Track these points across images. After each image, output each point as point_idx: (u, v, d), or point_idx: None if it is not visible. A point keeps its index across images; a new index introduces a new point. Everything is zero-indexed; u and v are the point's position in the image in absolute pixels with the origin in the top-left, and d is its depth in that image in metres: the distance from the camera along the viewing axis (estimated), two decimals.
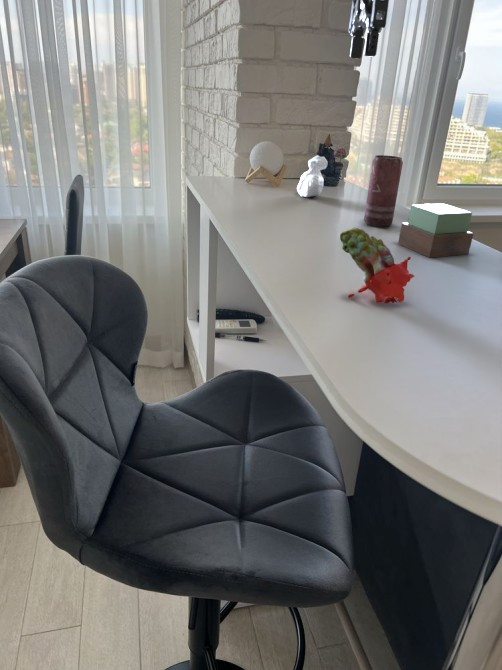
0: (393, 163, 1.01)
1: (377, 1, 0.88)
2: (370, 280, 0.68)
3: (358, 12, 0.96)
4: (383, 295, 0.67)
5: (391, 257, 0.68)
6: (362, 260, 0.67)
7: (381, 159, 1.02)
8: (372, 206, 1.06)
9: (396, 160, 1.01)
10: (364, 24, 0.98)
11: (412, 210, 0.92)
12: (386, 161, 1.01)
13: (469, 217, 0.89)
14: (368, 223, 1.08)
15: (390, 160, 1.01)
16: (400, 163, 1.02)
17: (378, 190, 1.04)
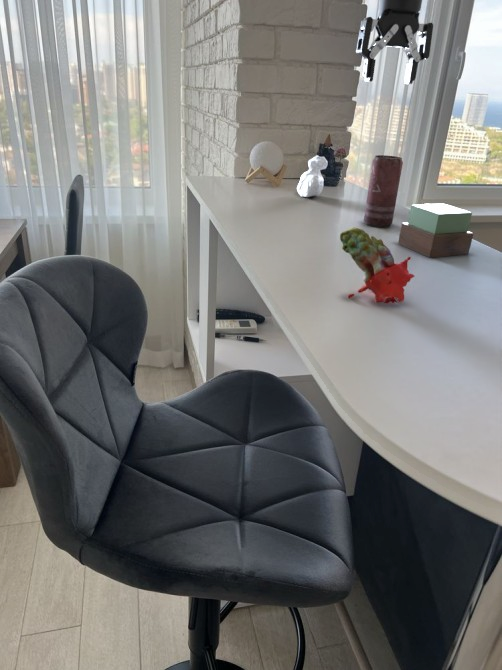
0: (393, 163, 1.01)
1: (360, 31, 0.94)
2: (370, 280, 0.68)
3: None
4: (383, 295, 0.67)
5: (391, 257, 0.68)
6: (362, 260, 0.67)
7: (381, 159, 1.02)
8: (372, 206, 1.06)
9: (396, 160, 1.01)
10: (409, 49, 0.96)
11: (412, 210, 0.92)
12: (386, 161, 1.01)
13: (469, 217, 0.89)
14: (368, 223, 1.08)
15: (390, 160, 1.01)
16: (400, 163, 1.02)
17: (378, 190, 1.04)
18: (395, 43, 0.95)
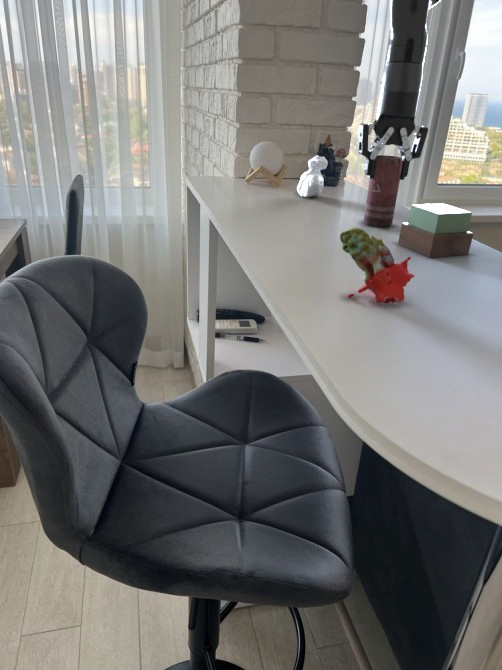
0: (393, 163, 1.01)
1: (359, 135, 1.02)
2: (370, 280, 0.68)
3: None
4: (383, 295, 0.67)
5: (391, 257, 0.68)
6: (362, 260, 0.67)
7: (381, 159, 1.02)
8: (372, 205, 1.06)
9: (396, 160, 1.01)
10: (402, 148, 1.03)
11: (412, 210, 0.92)
12: (386, 161, 1.01)
13: (469, 217, 0.89)
14: (367, 223, 1.08)
15: (390, 160, 1.01)
16: (400, 163, 1.02)
17: (378, 190, 1.04)
18: (391, 143, 1.01)
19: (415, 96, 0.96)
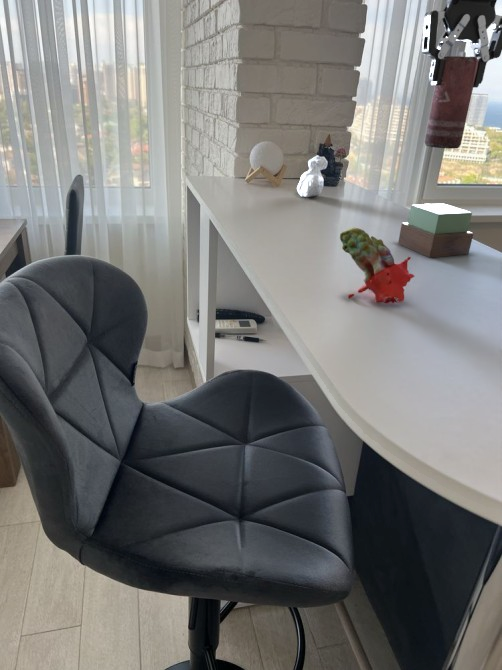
0: (468, 62, 0.81)
1: (424, 28, 0.81)
2: (370, 280, 0.68)
3: None
4: (383, 295, 0.67)
5: (391, 257, 0.68)
6: (362, 260, 0.67)
7: (452, 58, 0.81)
8: (437, 121, 0.86)
9: (471, 59, 0.81)
10: (477, 45, 0.82)
11: (412, 210, 0.92)
12: (459, 60, 0.81)
13: (469, 217, 0.89)
14: (431, 144, 0.88)
15: (464, 58, 0.81)
16: (476, 63, 0.81)
17: (447, 99, 0.84)
18: (465, 37, 0.81)
19: None
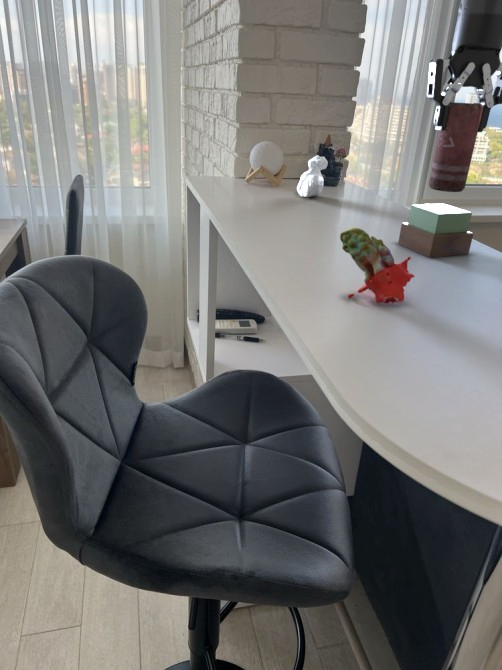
0: (472, 109, 0.81)
1: (429, 74, 0.81)
2: (370, 280, 0.68)
3: None
4: (383, 295, 0.67)
5: (391, 257, 0.68)
6: (362, 260, 0.67)
7: (457, 105, 0.82)
8: (442, 165, 0.86)
9: (476, 105, 0.81)
10: (482, 92, 0.82)
11: (412, 210, 0.92)
12: (463, 107, 0.81)
13: (469, 217, 0.89)
14: (435, 187, 0.88)
15: (469, 105, 0.81)
16: (481, 109, 0.82)
17: (451, 144, 0.84)
18: (470, 84, 0.81)
19: None
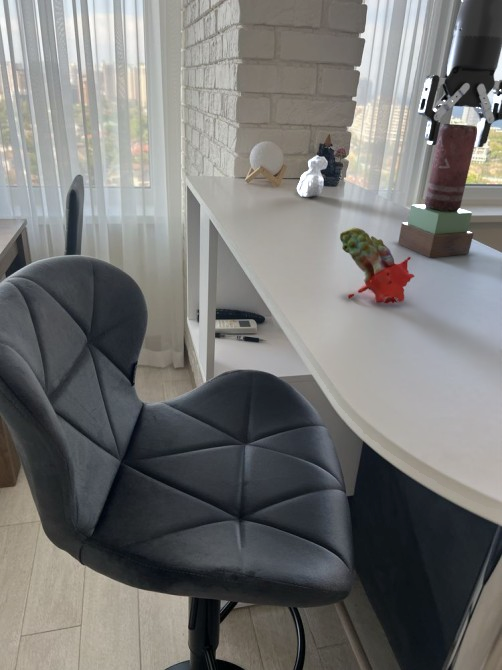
0: (467, 132, 0.83)
1: (424, 89, 0.82)
2: (370, 280, 0.68)
3: None
4: (383, 295, 0.67)
5: (391, 257, 0.68)
6: (362, 260, 0.67)
7: (452, 127, 0.83)
8: (437, 185, 0.87)
9: (471, 128, 0.83)
10: (481, 109, 0.84)
11: (412, 210, 0.92)
12: (458, 129, 0.83)
13: (469, 217, 0.89)
14: (431, 207, 0.89)
15: (464, 128, 0.82)
16: (475, 132, 0.83)
17: (447, 165, 0.85)
18: (465, 103, 0.82)
19: (499, 42, 0.77)
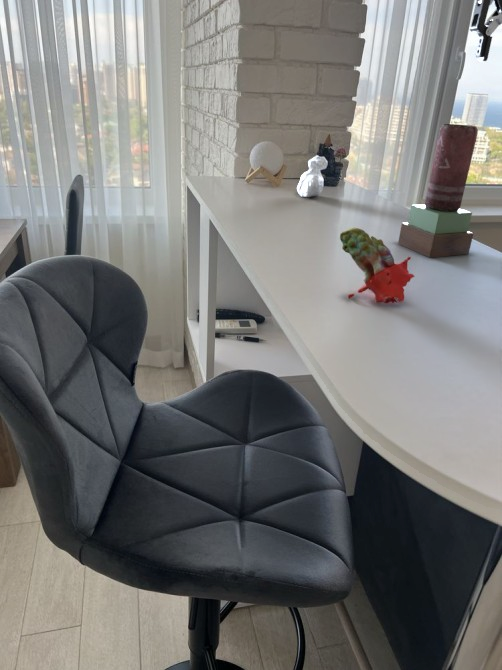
0: (467, 132, 0.83)
1: (476, 5, 0.86)
2: (370, 280, 0.68)
3: None
4: (383, 295, 0.67)
5: (391, 257, 0.68)
6: (362, 260, 0.67)
7: (452, 127, 0.83)
8: (437, 185, 0.87)
9: (471, 128, 0.83)
10: None
11: (412, 210, 0.92)
12: (459, 130, 0.83)
13: (469, 217, 0.89)
14: (431, 207, 0.89)
15: (464, 128, 0.82)
16: (475, 132, 0.83)
17: (447, 165, 0.85)
18: None
19: None
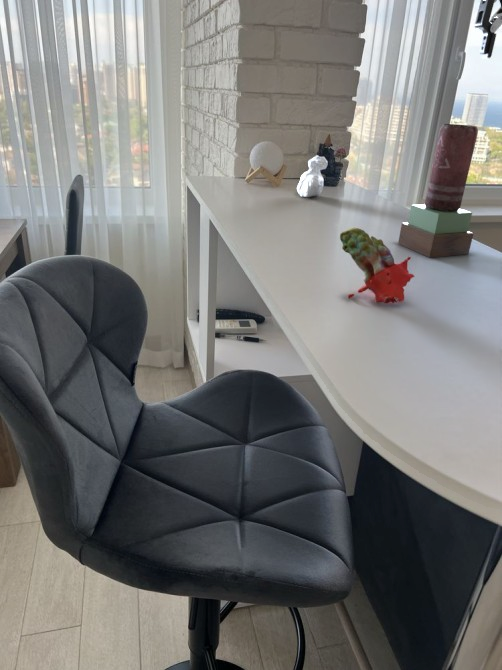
0: (468, 132, 0.83)
1: (481, 2, 0.87)
2: (370, 280, 0.68)
3: None
4: (383, 295, 0.67)
5: (391, 257, 0.68)
6: (362, 260, 0.67)
7: (452, 127, 0.83)
8: (438, 185, 0.87)
9: (471, 128, 0.83)
10: None
11: (412, 210, 0.92)
12: (459, 129, 0.83)
13: (469, 217, 0.89)
14: (431, 207, 0.89)
15: (464, 128, 0.82)
16: (476, 132, 0.83)
17: (447, 165, 0.85)
18: None
19: None
